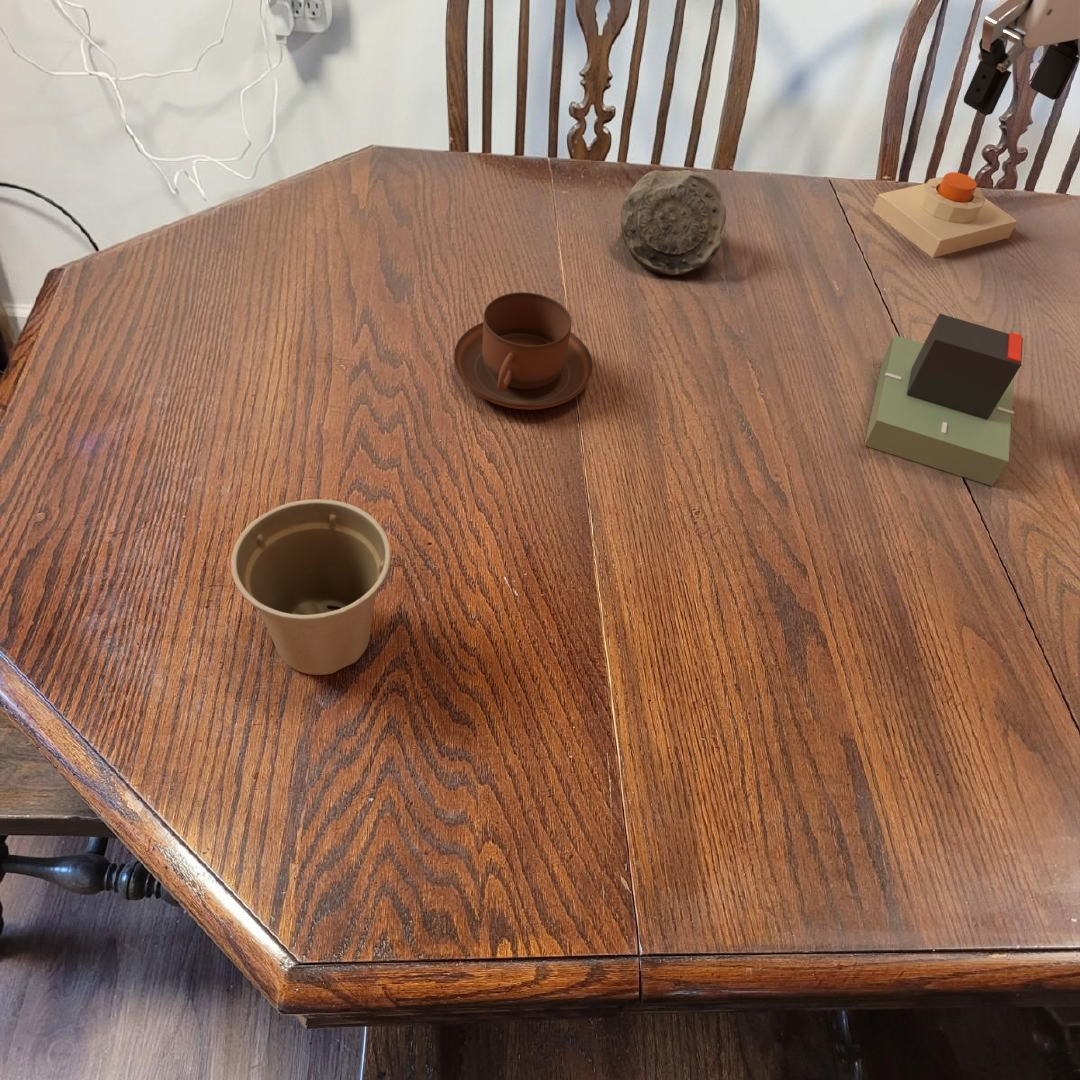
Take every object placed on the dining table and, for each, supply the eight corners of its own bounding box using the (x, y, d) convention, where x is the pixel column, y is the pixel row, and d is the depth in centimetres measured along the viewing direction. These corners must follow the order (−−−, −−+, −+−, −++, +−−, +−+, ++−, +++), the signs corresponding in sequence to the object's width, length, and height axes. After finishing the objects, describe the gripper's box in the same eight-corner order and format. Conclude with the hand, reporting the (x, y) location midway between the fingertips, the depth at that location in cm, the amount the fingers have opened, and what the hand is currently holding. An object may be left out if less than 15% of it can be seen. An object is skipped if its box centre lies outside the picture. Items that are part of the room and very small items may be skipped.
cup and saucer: (592, 427, 79) (602, 370, 75) (449, 417, 78) (451, 358, 74) (586, 338, 87) (596, 281, 82) (457, 328, 86) (459, 270, 81)
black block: (906, 394, 81) (936, 336, 77) (911, 368, 84) (940, 310, 79) (987, 420, 80) (1023, 362, 76) (990, 392, 83) (1024, 335, 78)
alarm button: (953, 184, 106) (960, 169, 105) (976, 200, 104) (984, 185, 103) (930, 189, 105) (937, 175, 103) (953, 206, 103) (960, 191, 101)
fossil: (635, 283, 92) (632, 174, 89) (604, 273, 101) (599, 173, 97) (736, 271, 95) (737, 164, 91) (697, 262, 103) (696, 164, 99)
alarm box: (946, 194, 112) (961, 162, 109) (1008, 238, 107) (1025, 206, 104) (871, 211, 108) (884, 178, 105) (932, 258, 102) (948, 225, 99)
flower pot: (247, 590, 65) (228, 506, 58) (384, 573, 67) (380, 490, 61) (253, 707, 59) (232, 629, 53) (402, 685, 61) (401, 607, 55)
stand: (881, 359, 89) (894, 333, 87) (1000, 395, 88) (1016, 369, 85) (862, 445, 81) (876, 418, 79) (993, 486, 79) (1011, 460, 77)
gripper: (1135, -126, 83) (1038, 72, 96) (1005, -115, 76) (920, 97, 89) (1209, -98, 79) (1098, 105, 92) (1080, -83, 72) (979, 133, 85)
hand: (1010, 100), depth 91 cm, fingers open, 9 cm apart
